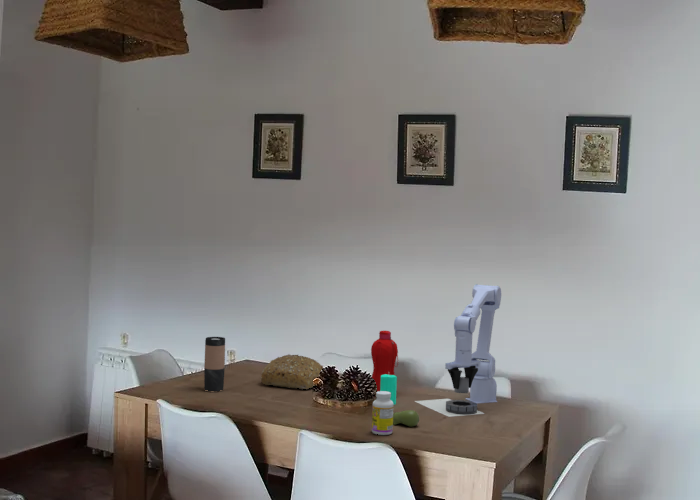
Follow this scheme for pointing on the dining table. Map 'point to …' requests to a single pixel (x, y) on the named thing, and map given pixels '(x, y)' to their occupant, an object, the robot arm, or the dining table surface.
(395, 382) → the candle
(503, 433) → the dining table surface
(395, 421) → the pear
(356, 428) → the dining table surface
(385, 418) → the supplement bottle
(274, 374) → the bread
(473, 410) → the toothed grey gear
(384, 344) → the water bottle
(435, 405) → the mat
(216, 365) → the travel mug
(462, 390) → the cap
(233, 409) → the dining table surface
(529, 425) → the dining table surface
